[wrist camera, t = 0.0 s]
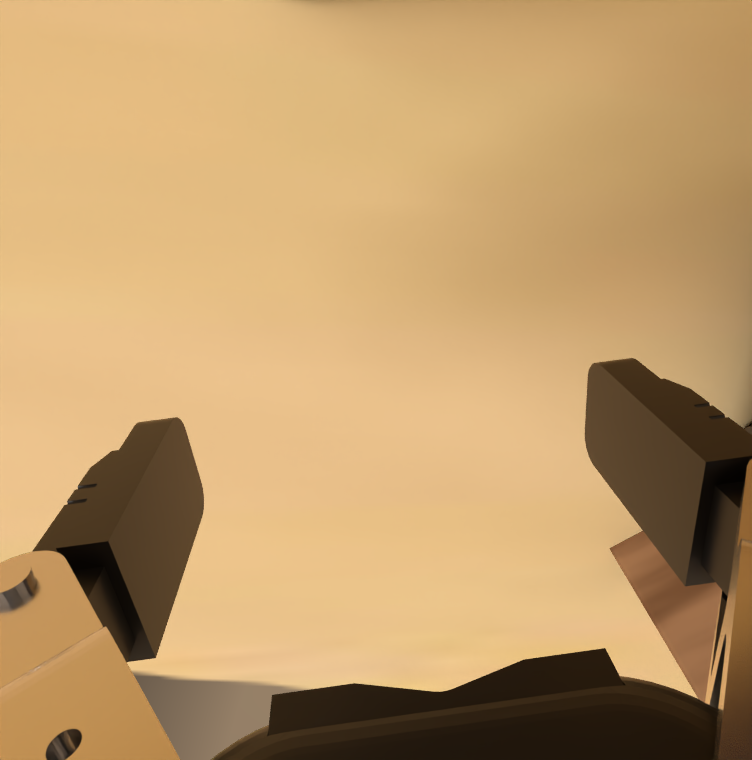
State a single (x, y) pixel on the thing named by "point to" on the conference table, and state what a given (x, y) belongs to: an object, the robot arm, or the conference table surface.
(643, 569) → the walnut block
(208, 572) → the conference table surface
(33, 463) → the conference table surface
